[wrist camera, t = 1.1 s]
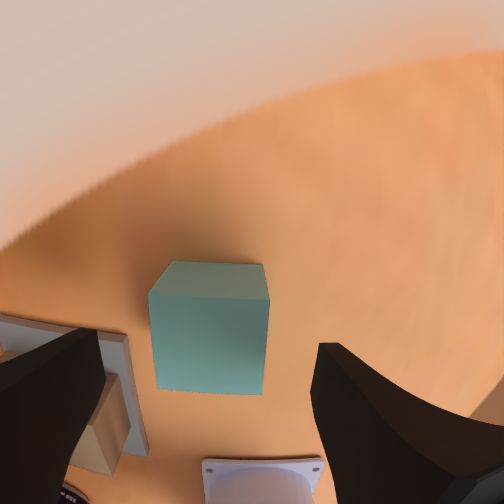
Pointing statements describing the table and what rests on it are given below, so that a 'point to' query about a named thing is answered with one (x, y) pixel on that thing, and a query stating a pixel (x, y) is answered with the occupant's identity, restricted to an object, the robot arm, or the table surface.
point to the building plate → (113, 356)
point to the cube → (210, 327)
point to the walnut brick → (100, 428)
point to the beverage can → (71, 496)
